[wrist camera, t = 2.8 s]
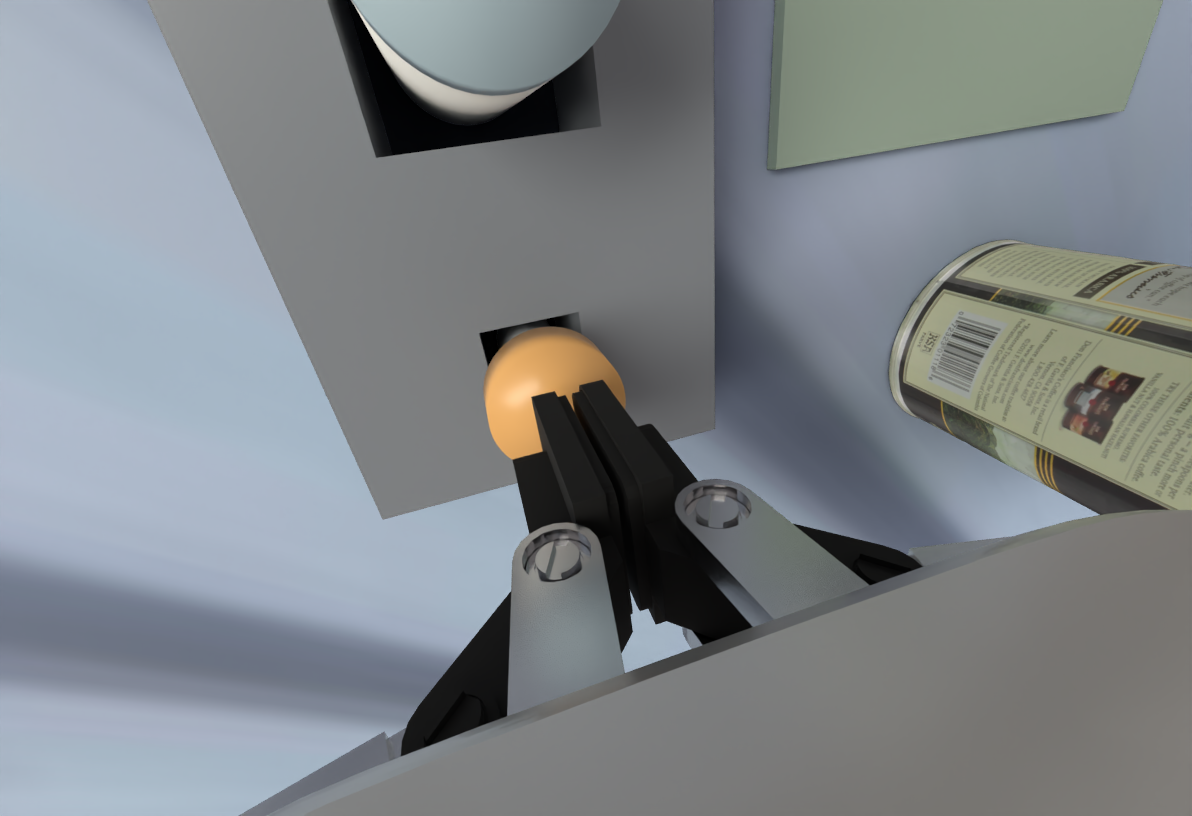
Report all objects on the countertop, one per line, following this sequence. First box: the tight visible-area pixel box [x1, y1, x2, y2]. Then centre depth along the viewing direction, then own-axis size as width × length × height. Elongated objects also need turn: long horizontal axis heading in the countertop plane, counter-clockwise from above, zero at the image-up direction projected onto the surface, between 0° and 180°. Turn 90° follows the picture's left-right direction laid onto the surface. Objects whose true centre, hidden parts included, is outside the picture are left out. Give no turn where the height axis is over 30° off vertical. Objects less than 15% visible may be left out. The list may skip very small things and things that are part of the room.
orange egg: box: [483, 319, 626, 459], centre depth 15 cm, size 4×4×6 cm
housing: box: [147, 0, 715, 519], centre depth 15 cm, size 18×12×5 cm, turn 7°
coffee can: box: [889, 240, 1192, 515], centre depth 21 cm, size 10×10×14 cm
